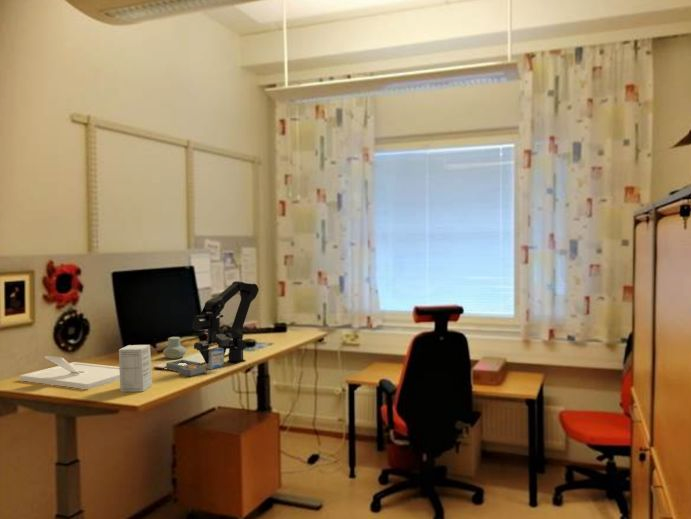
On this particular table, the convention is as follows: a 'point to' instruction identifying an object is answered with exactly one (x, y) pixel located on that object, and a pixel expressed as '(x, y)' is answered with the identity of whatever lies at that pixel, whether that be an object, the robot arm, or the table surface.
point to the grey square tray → (175, 366)
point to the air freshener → (174, 348)
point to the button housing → (192, 371)
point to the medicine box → (215, 358)
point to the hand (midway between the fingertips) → (214, 361)
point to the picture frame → (74, 374)
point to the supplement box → (135, 368)
